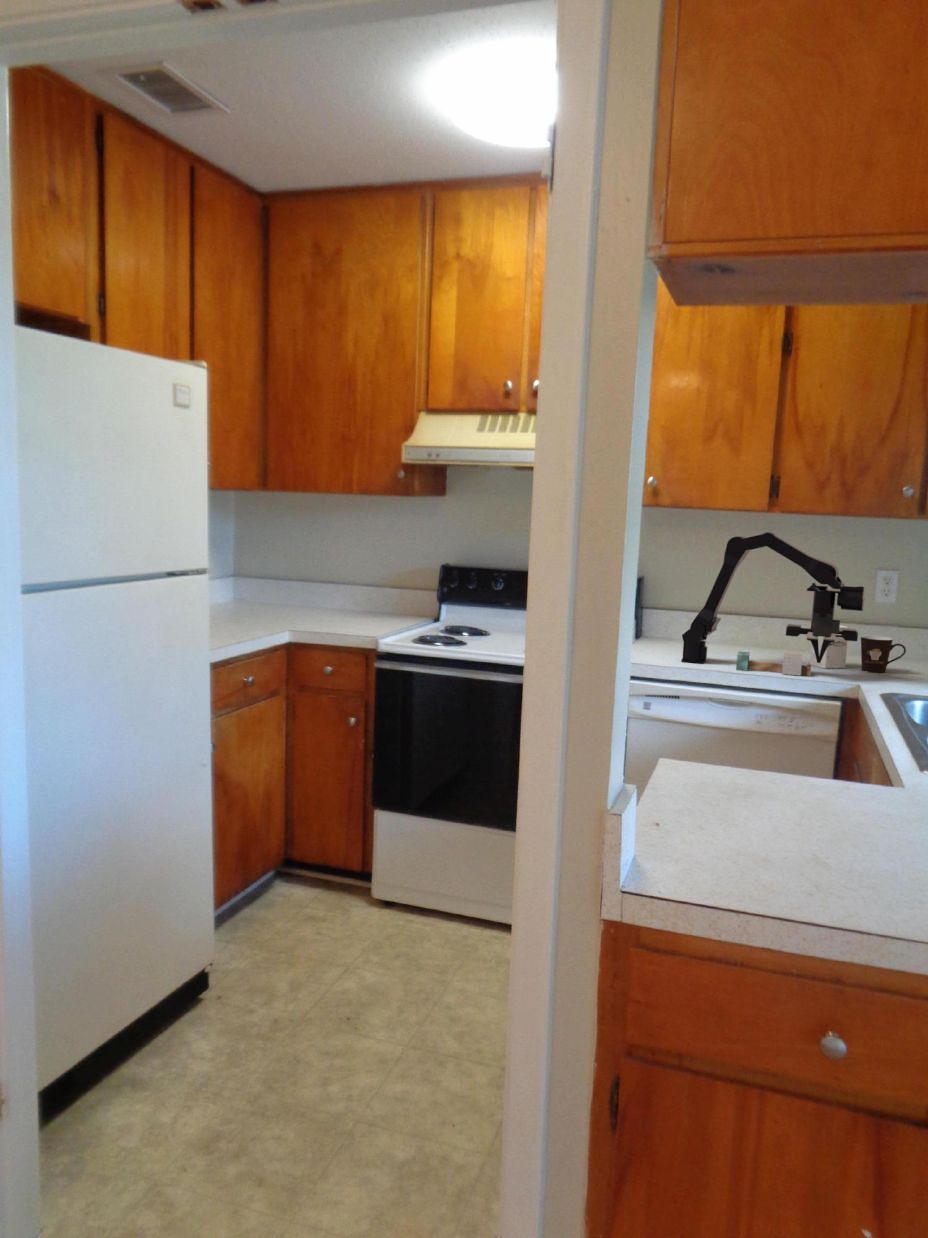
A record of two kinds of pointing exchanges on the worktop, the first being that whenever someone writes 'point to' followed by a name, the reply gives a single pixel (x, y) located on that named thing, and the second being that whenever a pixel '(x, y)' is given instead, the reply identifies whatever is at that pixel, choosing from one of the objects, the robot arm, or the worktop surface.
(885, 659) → the coffee mug
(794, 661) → the block
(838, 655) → the supplement box
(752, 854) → the worktop surface
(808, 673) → the track
